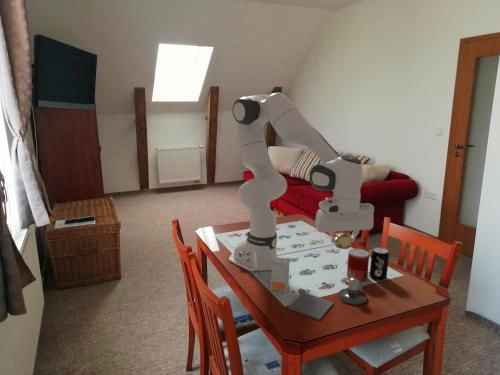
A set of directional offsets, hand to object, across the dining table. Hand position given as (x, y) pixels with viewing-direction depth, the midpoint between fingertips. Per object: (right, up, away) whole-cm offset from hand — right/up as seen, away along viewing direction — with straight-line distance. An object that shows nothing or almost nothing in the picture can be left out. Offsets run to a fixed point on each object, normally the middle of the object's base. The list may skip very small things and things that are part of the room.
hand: (342, 242), depth 129 cm
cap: (0, -1, 0) cm, 1 cm away
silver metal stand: (+5, -21, +7) cm, 23 cm away
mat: (-11, -23, +2) cm, 25 cm away
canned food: (+11, -18, +22) cm, 31 cm away
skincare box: (-21, -20, +13) cm, 32 cm away
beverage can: (+20, -18, +22) cm, 35 cm away
